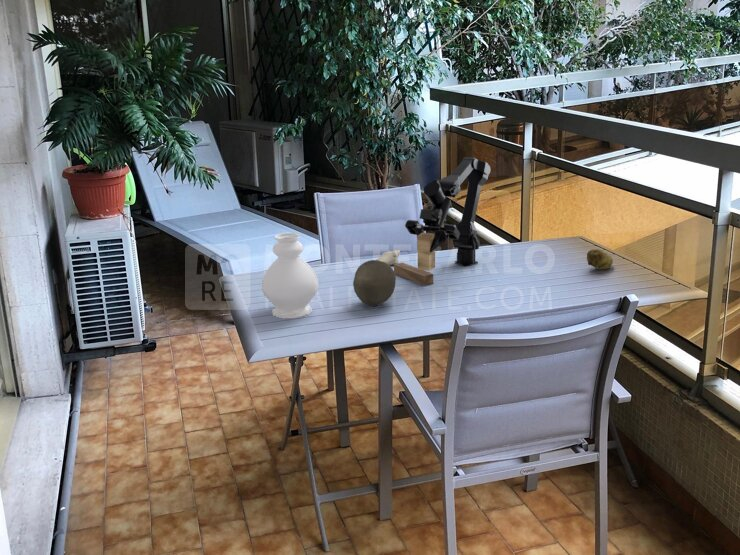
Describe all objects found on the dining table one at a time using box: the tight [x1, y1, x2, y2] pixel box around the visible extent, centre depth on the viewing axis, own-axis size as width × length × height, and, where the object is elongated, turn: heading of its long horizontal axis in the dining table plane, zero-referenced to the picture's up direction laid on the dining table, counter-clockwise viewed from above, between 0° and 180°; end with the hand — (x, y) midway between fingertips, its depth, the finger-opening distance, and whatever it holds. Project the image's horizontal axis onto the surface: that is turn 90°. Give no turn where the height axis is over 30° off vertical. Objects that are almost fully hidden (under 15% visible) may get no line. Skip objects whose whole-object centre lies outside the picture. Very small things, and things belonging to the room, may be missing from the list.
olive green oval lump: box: [586, 248, 614, 270], centre depth 269 cm, size 8×13×8 cm, turn 116°
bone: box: [375, 249, 401, 266], centre depth 278 cm, size 8×21×6 cm, turn 147°
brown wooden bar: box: [393, 262, 434, 286], centre depth 265 cm, size 4×18×4 cm, turn 34°
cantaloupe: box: [352, 259, 397, 307], centre depth 237 cm, size 14×14×15 cm
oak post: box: [416, 231, 436, 272], centre depth 252 cm, size 4×4×12 cm
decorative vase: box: [261, 232, 319, 320], centre depth 232 cm, size 18×18×25 cm
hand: (424, 250), depth 251 cm, fingers closed on oak post, 4 cm apart
